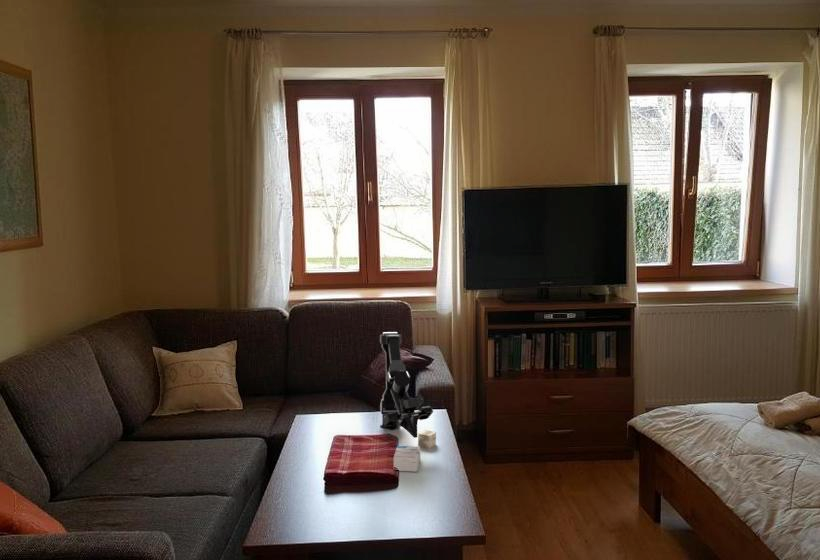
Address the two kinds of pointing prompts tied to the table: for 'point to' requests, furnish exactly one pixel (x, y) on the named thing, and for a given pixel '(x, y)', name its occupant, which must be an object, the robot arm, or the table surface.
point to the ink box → (407, 458)
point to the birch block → (426, 438)
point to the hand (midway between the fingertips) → (415, 437)
